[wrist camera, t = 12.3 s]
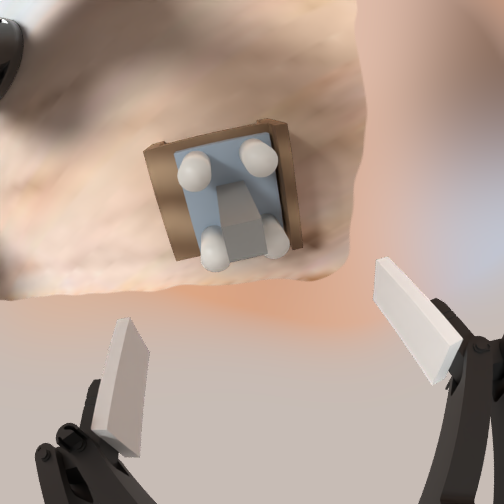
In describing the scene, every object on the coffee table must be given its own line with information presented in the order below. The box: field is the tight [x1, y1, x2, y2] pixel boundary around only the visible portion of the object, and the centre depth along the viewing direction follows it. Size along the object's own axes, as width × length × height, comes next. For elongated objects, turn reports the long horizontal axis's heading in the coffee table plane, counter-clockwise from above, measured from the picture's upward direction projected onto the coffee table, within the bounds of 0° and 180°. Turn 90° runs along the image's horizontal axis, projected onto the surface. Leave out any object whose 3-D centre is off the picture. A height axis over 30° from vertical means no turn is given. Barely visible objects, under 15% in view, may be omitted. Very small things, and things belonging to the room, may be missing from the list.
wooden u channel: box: [143, 119, 303, 261], centre depth 34 cm, size 14×15×10 cm
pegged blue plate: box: [174, 132, 290, 272], centre depth 27 cm, size 12×10×12 cm
